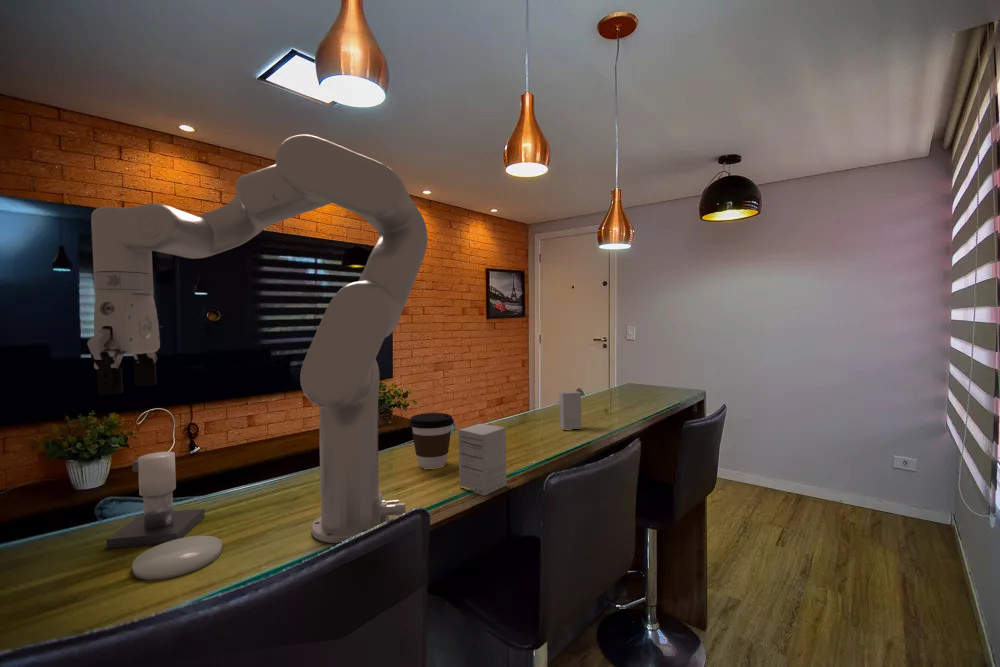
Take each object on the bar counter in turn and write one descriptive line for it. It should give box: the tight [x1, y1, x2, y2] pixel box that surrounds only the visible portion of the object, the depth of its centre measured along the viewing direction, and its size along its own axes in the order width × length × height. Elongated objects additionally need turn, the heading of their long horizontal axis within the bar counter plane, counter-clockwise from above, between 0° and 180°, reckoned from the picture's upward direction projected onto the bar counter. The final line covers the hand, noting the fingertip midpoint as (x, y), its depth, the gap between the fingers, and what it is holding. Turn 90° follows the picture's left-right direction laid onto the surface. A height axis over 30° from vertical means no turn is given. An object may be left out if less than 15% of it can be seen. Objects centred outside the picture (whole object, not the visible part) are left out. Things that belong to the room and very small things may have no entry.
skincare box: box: [558, 390, 582, 430], centre depth 149 cm, size 6×4×12 cm
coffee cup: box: [408, 412, 455, 469], centre depth 113 cm, size 11×11×12 cm
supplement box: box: [458, 423, 507, 497], centre depth 98 cm, size 7×7×13 cm
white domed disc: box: [131, 535, 223, 581], centre depth 69 cm, size 11×11×1 cm
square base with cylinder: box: [105, 491, 206, 549], centre depth 79 cm, size 10×10×7 cm
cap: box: [131, 451, 177, 497], centre depth 78 cm, size 6×5×6 cm
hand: (129, 389), depth 76 cm, fingers open, 9 cm apart
